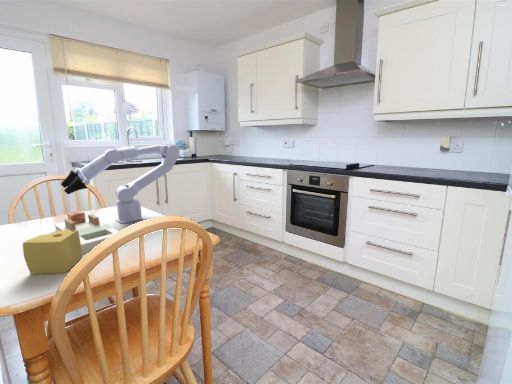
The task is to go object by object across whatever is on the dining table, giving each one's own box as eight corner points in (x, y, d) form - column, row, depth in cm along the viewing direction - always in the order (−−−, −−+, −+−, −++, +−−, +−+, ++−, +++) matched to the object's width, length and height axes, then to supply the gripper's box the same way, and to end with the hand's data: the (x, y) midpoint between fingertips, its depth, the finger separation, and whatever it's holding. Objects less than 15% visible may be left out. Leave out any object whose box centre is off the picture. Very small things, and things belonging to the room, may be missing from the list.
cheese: (50, 259, 90) (44, 230, 88) (85, 258, 91) (80, 228, 89) (27, 276, 80) (20, 243, 78) (66, 273, 81) (61, 241, 79)
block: (82, 219, 122) (80, 210, 121) (85, 221, 118) (84, 212, 117) (68, 222, 118) (67, 213, 117) (72, 224, 115) (70, 215, 114)
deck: (93, 222, 126) (91, 210, 125) (124, 241, 105) (122, 225, 103) (56, 231, 116) (53, 217, 115) (82, 253, 95) (79, 236, 93)
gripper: (83, 156, 121) (53, 176, 117) (91, 166, 111) (59, 188, 107) (94, 168, 126) (66, 188, 121) (103, 179, 116) (73, 200, 112)
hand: (64, 189), depth 114 cm, fingers open, 7 cm apart
